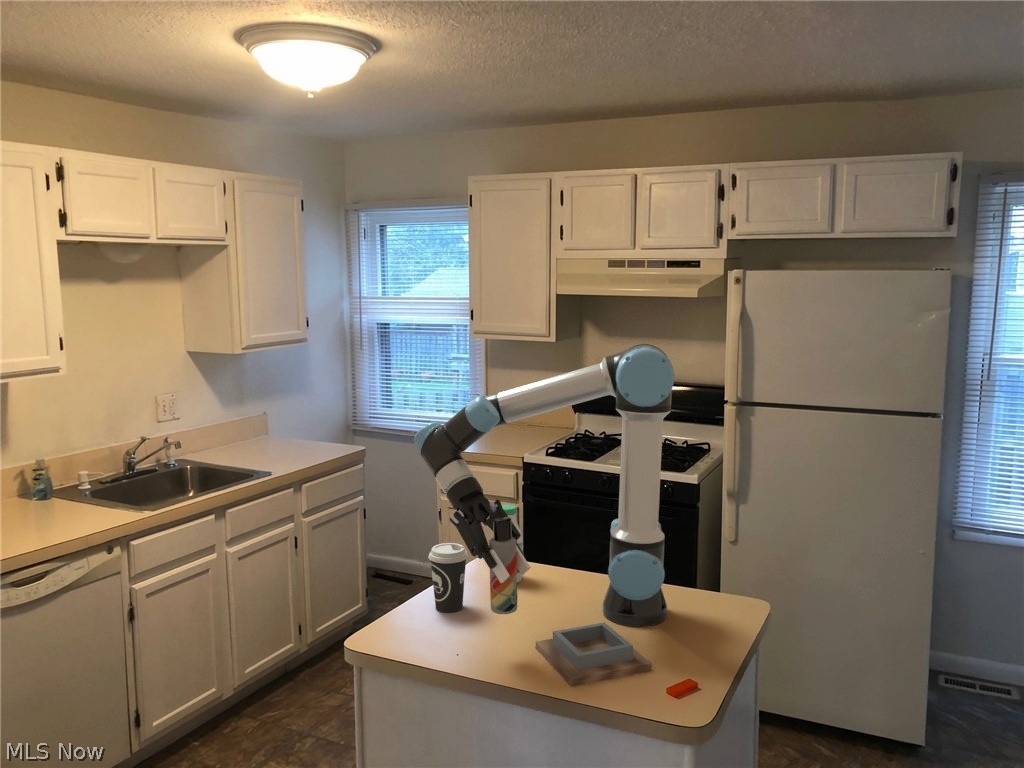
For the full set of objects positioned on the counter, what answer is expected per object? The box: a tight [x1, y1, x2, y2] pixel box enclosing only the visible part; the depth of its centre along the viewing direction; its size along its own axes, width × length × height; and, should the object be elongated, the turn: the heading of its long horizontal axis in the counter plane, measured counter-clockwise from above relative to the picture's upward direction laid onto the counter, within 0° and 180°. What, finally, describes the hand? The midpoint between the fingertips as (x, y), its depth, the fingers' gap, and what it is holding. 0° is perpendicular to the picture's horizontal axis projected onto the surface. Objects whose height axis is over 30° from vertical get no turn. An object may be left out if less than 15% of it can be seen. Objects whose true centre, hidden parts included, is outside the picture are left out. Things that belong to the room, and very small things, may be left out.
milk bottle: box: [501, 504, 524, 584], centre depth 212 cm, size 8×8×20 cm
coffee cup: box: [427, 542, 469, 614], centre depth 194 cm, size 10×10×15 cm
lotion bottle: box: [488, 516, 518, 615], centre depth 168 cm, size 6×6×20 cm
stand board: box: [535, 638, 653, 688], centre depth 168 cm, size 18×18×2 cm
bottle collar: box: [552, 622, 634, 671], centre depth 168 cm, size 12×12×3 cm
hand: (515, 575), depth 166 cm, fingers closed on lotion bottle, 5 cm apart
